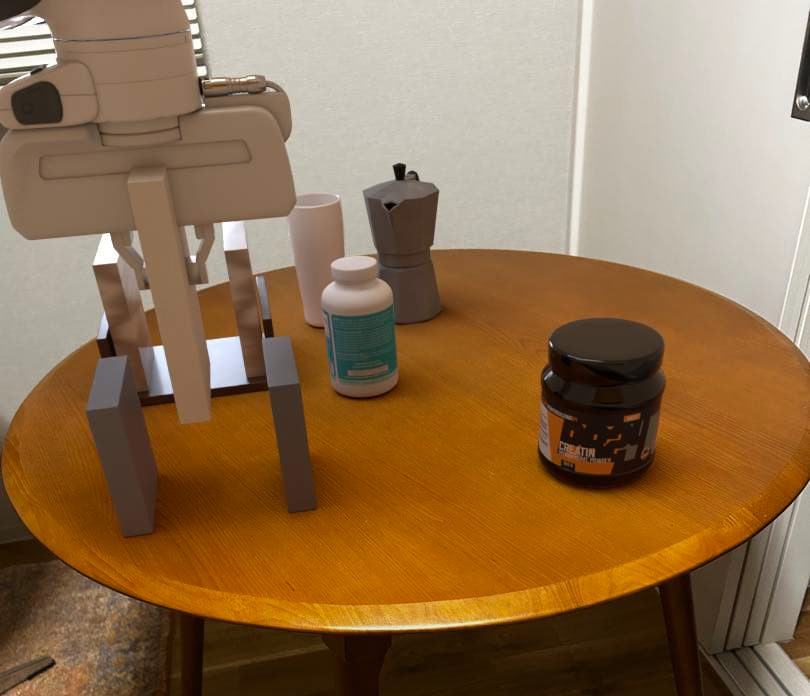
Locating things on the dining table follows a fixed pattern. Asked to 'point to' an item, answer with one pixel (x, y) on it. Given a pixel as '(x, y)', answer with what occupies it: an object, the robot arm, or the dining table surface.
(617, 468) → the supplement container
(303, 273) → the drinking glass
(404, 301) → the coffeepot
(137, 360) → the book rack
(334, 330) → the pill bottle
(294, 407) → the grey books
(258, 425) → the dining table surface
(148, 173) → the white book
